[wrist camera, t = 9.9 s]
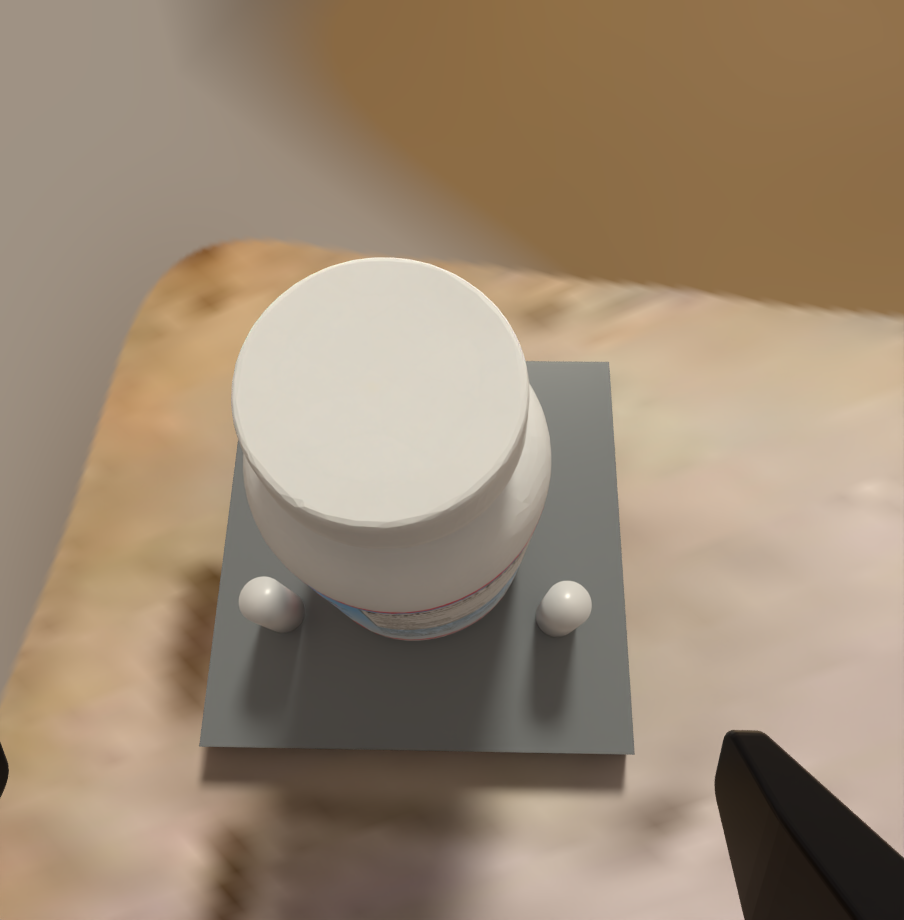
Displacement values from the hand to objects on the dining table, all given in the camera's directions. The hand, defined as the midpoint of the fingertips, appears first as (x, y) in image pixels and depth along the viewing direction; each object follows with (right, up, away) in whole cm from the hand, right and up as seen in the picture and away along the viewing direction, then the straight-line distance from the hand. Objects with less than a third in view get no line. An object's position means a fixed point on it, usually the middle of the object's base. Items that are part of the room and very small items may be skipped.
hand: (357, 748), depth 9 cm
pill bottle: (0, +1, +13) cm, 13 cm away
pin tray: (0, +1, +14) cm, 14 cm away
